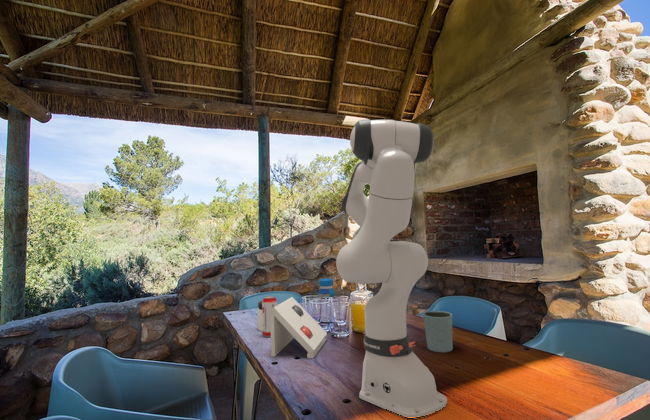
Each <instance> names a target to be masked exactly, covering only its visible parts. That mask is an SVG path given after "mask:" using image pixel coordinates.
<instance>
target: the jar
mask: <svg viewBox="0 0 650 420" xmlns="http://www.w3.org/2000/svg"><path fill="white" fill-rule="evenodd" d="M262 301H263V300H262ZM262 301H258V302H257V307H258V308H257V309H256V310H257V314H256V315H257V330H258V331H260V332H262V333H263V320H262Z"/></svg>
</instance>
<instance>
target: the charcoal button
mask: <svg viewBox="0 0 650 420" xmlns="http://www.w3.org/2000/svg"><path fill="white" fill-rule="evenodd" d="M293 310H294V311H295V312H296V313H297V314H298V315H299V316H301V315H302V314H303V311H302V309H301V308H300V307H299V306H295V307H294V308H293Z"/></svg>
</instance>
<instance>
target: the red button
mask: <svg viewBox="0 0 650 420" xmlns="http://www.w3.org/2000/svg"><path fill="white" fill-rule="evenodd" d="M300 330H301V331H302V332H303V333H304V334H305V335H306V336H307V337H308V338H310V336H311V335H312V332H311V330H310V329H309V328H308V327H306V326H304V327H303V328H302V329H300Z"/></svg>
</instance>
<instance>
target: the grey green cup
mask: <svg viewBox="0 0 650 420" xmlns="http://www.w3.org/2000/svg"><path fill="white" fill-rule="evenodd" d="M422 318H423V323H424V324H423V325H424V332H425V339H426V346H427V350H430V351H432V352H435V353H449V352H452V351H453V349H454V346H453V345H454V343H453V313H451V312H449V311H442V310H441V311H440V310H429V311H424V312H423V313H422Z"/></svg>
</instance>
